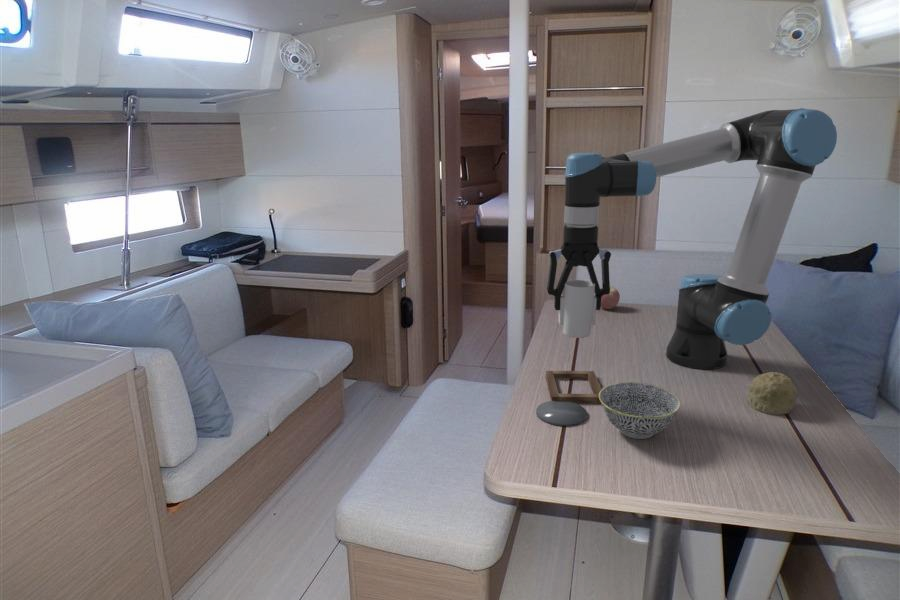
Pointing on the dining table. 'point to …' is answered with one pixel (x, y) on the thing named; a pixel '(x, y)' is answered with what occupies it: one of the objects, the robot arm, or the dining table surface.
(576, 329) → the mug
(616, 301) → the apple
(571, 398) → the holder
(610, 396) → the bowl
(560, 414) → the coaster
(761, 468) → the dining table surface
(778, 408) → the decorative object
